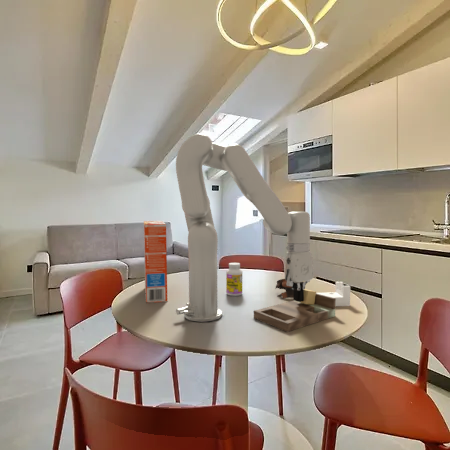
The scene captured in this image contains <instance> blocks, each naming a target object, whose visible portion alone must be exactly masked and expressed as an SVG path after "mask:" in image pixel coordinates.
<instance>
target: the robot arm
mask: <svg viewBox="0 0 450 450" xmlns="http://www.w3.org/2000/svg"><path fill="white" fill-rule="evenodd" d="M203 166H205V167H209V168H213V169H216V170H220V171H225V172H228V173H229V175H230V176H231V178H232V179H233V181H234V182H235V184H236V185H237V187H238V189H239V191H240V192H241V193H242V195H243V196H244V197H245V198H246V199H247V200H248V201H249V202H250V203H251V204H252V205H253V206H254V207H255V208H256V209H257V210H258V212H259V213H260V215H261V217H262V218H263V221H262V223H263V227H264V229H265V230H266V231H268V232H270V234H273V235H277V236H284V235H287V236H286V241H287V242H286V243H287V244H286V247H285V249H286V253H285V254H286V255H285V258H284V260H285V261H284V279H285V280H286V281H287V283H286V285H287V286H291V287H292V289H294V298H293V301H298V302H301V301H304V289H306V285H307V284H308V283H310V282H311V281H312V280H313V279H314V272H315V271H314V259H313V254H312V251H311V243H310V242H311V241H310V240H311V222H310V220H311V217H310V213H309V212H307V211H290V212H288V210H287V209H286V207H285V206H284V204H283V203H282V201H281V200H280V198H279V197H278V195H277V194H276V193H275V192H274V191H273V189H272V188H271V187H270V185H269V183H268V182H267V181H266V180H265V179H264V177H263V175H262V174H261V173H260V171H259V169H258V168H257V165H256V164H255V163H254V161H253V159H251V157H250V155H249V153H248V152H247V151H246V149H245V148H244V146H242V145H240V144H237V143H232V144H230V145H227V146H226V145H221V144H218V143H214V142H213V141H212V139H211V138H210V137H209V136H208V135H207V134H205V133H195V134H193V135H190V136H189V137H188V138H186V140H185V141H184V142H183V143H182V144H180V147H179V149H178V151H177V155H176V158H175V171H176V179H177V182H178V189H179V193H180V198H181V199H180V200H181V208H182V211H183V212H184V217H185V221H186V222H185V223H186V226H187V231H188V234H187V235H188V236H187V249H188V250H187V251H188V252H187V254H188V298H189V299H188V301H189V302H186V304H185V305H186V306H184V307H179V308H176V310H175V312H176V313H175V314H176V315H177V316H179V315H182V314H183V316H184V317H185V319H186V320H189V321H192V322H197V323H200V322H203V323H204V322H212V321H216V320H219V319H221V318H222V316H223V311H222V310H221V309H220V308H218V244H219V243H218V242H219V241H218V233H217V230H216V228H215V224H214V219H213V214H212V209H211V202H210V198H209V196H208V193H207V189H206V184H205V178H204V172H203Z"/></svg>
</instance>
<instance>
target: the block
mask: <svg viewBox="0 0 450 450" xmlns="http://www.w3.org/2000/svg"><path fill="white" fill-rule="evenodd" d="M316 293H317V291H314V290H311V289H307V288H305V289H304V301H301V303H304V304H312V305H314V303H315V296H316ZM297 302H298V301H297Z"/></svg>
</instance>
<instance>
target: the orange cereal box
mask: <svg viewBox="0 0 450 450" xmlns="http://www.w3.org/2000/svg"><path fill="white" fill-rule="evenodd" d="M143 242H144V243H143V245H144V246H143V247H144V248H143V250H144V251H143V252H144V255H143V256H144V290H145V291H144V293H146V294H145V303H146V302H154V303H163V302H162V301H167V302H168V264H167V261H168V259H167V257H168V256H167V254H168V253H167V248H168V247H167V224H166V223H165V222H164V221H163V220H144V221H143Z"/></svg>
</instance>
